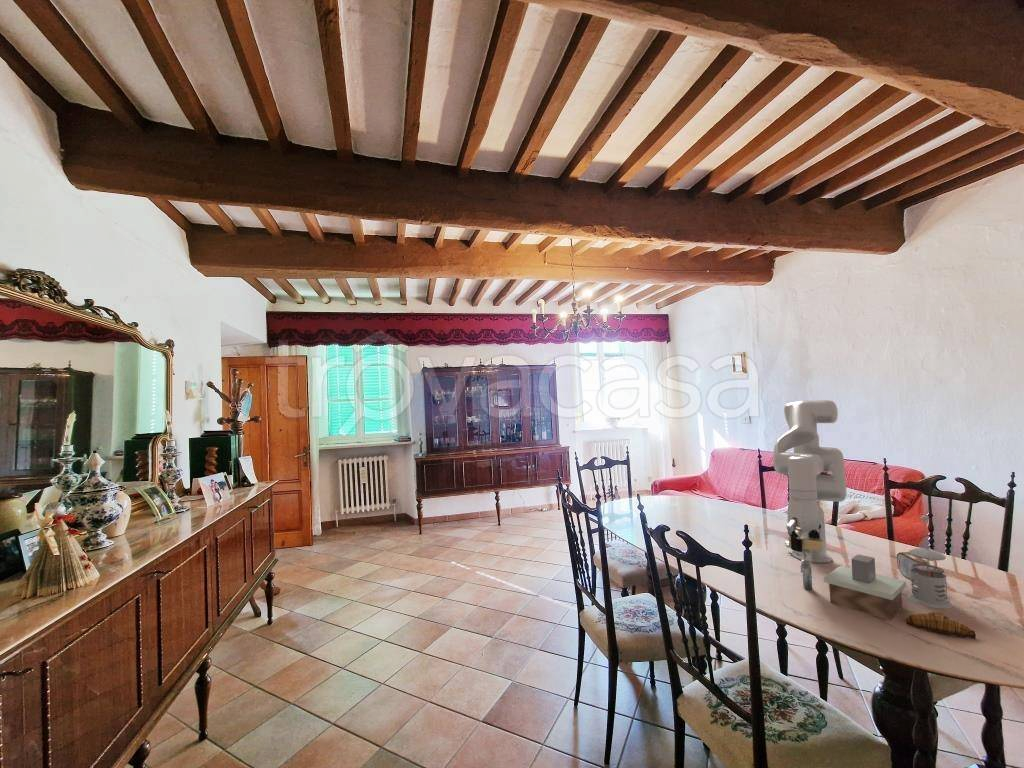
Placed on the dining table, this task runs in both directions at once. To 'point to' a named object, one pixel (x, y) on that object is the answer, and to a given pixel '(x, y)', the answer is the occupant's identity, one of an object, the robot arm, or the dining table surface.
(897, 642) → the dining table surface
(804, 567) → the key
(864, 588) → the cover
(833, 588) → the housing
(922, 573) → the french press
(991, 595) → the dining table surface
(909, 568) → the tin
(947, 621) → the croissant
